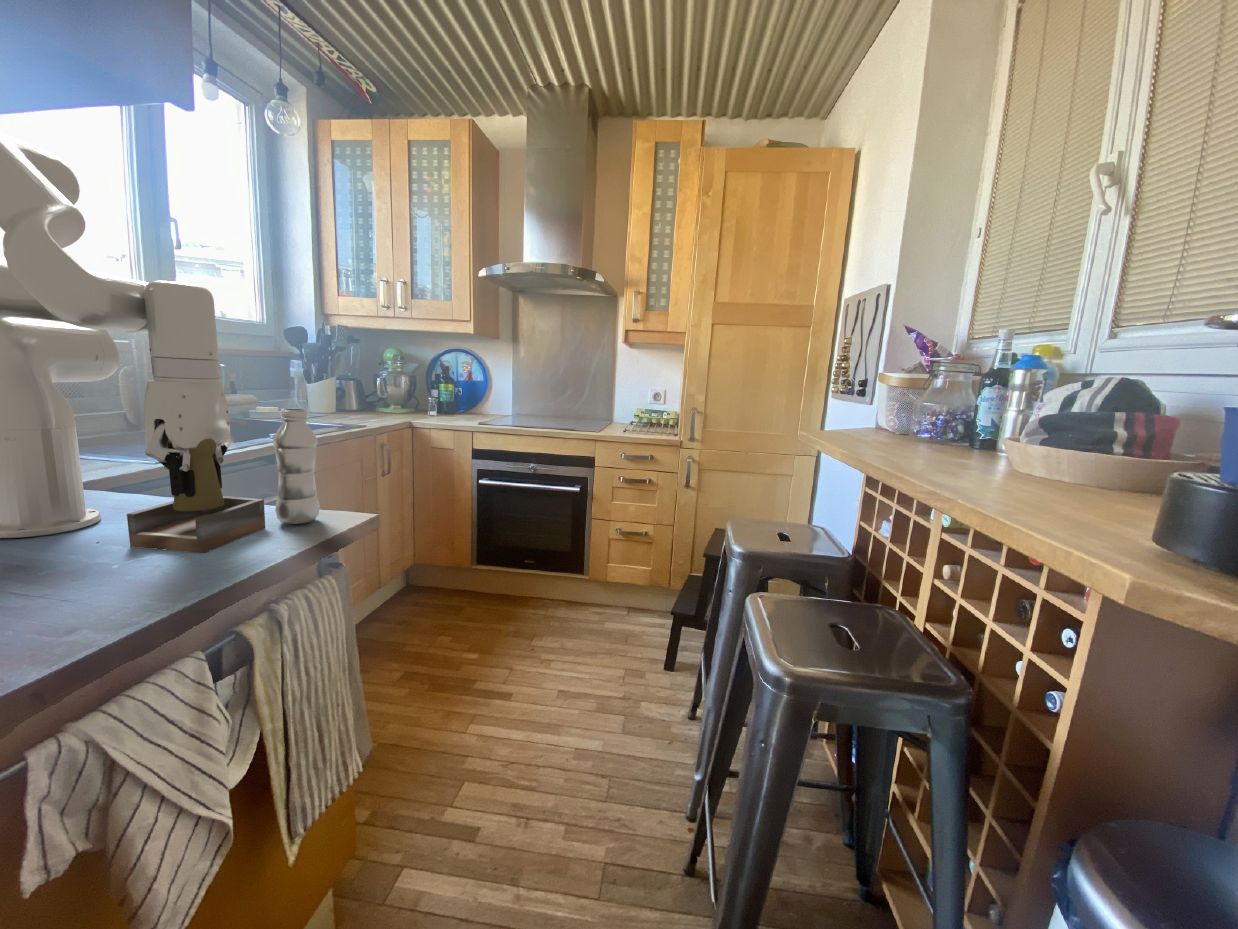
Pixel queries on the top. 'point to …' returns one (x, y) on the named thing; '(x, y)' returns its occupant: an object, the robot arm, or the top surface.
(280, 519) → the plastic bottle
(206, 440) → the cork
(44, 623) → the top surface
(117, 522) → the top surface
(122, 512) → the top surface
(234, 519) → the tray
